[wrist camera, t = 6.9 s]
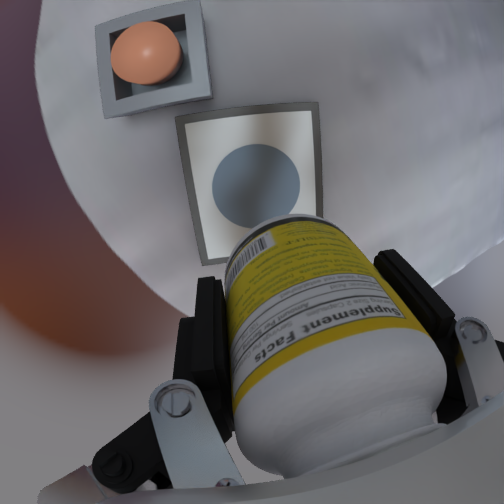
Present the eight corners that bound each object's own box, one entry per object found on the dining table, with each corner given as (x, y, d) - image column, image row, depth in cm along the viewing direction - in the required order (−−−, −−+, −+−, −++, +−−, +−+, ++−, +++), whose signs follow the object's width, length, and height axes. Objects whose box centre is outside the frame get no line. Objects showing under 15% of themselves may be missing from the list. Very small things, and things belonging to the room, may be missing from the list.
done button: (180, 27, 14) (173, 14, 12) (186, 79, 16) (179, 74, 13) (123, 41, 14) (108, 32, 11) (129, 92, 16) (114, 90, 13)
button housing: (203, 19, 17) (199, -2, 12) (213, 98, 20) (210, 95, 16) (118, 39, 16) (94, 25, 12) (127, 115, 20) (104, 119, 15)
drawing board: (314, 102, 21) (319, 102, 20) (319, 244, 27) (323, 250, 26) (176, 116, 20) (174, 117, 19) (202, 260, 27) (202, 267, 25)
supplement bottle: (345, 311, 13) (433, 499, 5) (232, 327, 13) (254, 551, 4) (357, 202, 11) (548, 412, 2) (215, 216, 10) (220, 552, 2)
